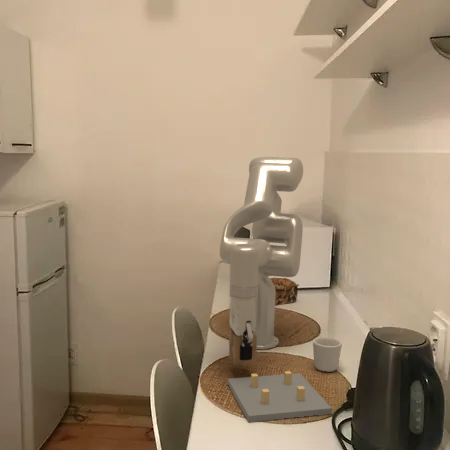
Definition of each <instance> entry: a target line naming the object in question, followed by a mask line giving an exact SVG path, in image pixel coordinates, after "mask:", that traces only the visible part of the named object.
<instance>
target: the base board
mask: <svg viewBox="0 0 450 450" xmlns="http://www.w3.org/2000/svg"><path fill="white" fill-rule="evenodd" d="M228 385H229V386H228ZM227 386H228V387H230V388H229V389H231V390H230V392H231V393H232V394H233V397H234V399H235V398H236V399H235V401H236V402H237V404H238V405H239V407H240V410H241V411H242V413H243V415H244V416H245V418H246V420H247V422H248V423H256V422H266V421H267V422H268V421H274V420H273V419H278V420H285V419H284V418H289V419H295V418H294V417H299V418H305V417H304V416H309V417H314V416H313V415H319V416H327V414H330V415H332V412H333V411H332V410H333V408H332V407H331V406H330V405H329V403H328V402H327V401H326V400H325V399H324V398H323V397H322V395H320V394H319V392H318V391H317V390H316V389H315V387H313V386H312V385H311V384H310V383H309V382H308V380H307V379H306V377H304V376H303V374H302V373H300V372H298V373H293V372H291V371H290V370H287V371H284V373H283V374H274V375H270V374H269V375H261V376H259V375H258V373H251V374H250V376H246V377H232V378H227Z"/></svg>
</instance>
